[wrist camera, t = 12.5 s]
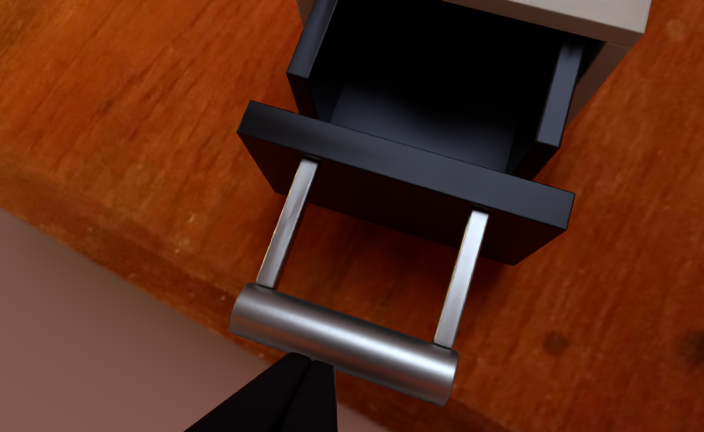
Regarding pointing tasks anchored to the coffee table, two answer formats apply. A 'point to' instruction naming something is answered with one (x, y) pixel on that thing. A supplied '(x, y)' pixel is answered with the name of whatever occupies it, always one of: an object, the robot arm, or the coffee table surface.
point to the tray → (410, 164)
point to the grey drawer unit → (571, 31)
